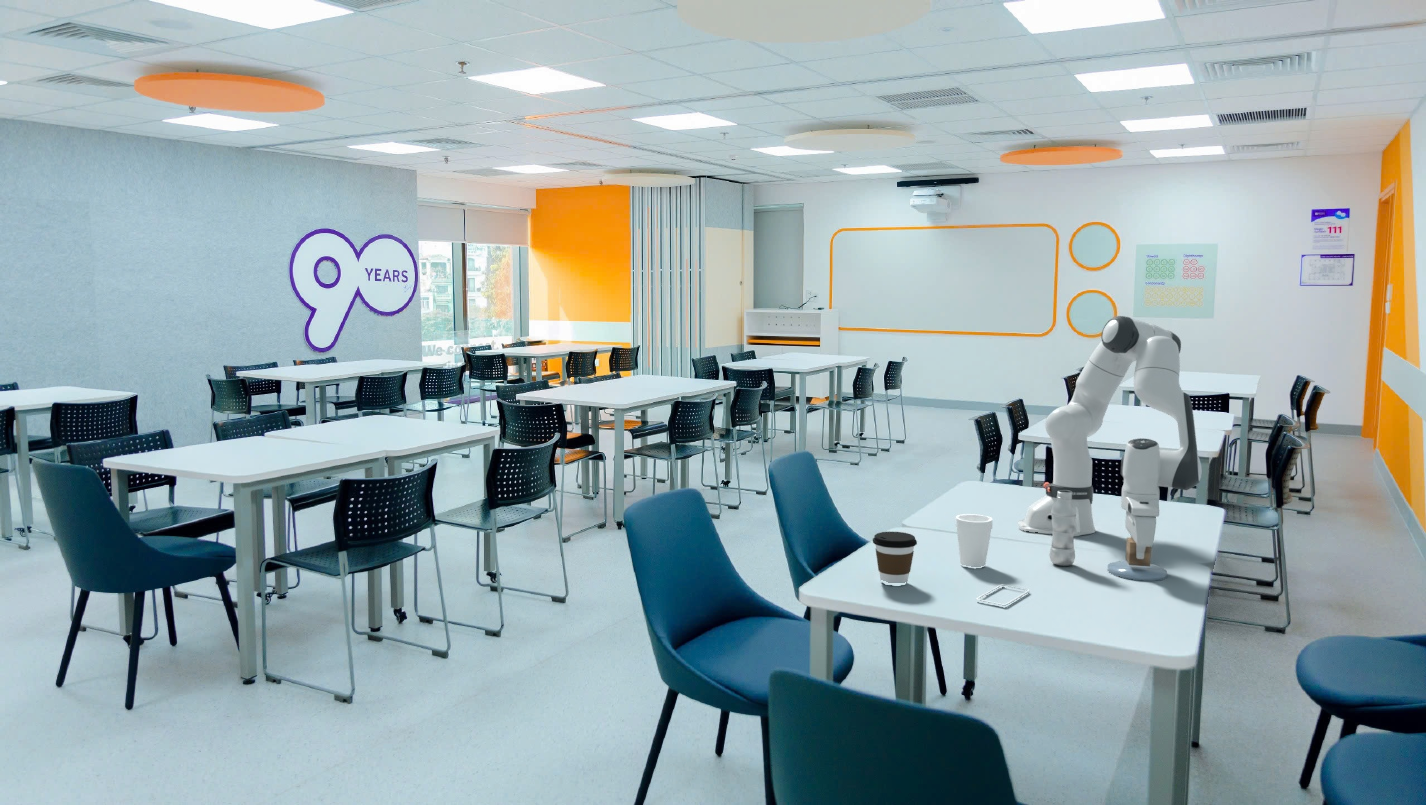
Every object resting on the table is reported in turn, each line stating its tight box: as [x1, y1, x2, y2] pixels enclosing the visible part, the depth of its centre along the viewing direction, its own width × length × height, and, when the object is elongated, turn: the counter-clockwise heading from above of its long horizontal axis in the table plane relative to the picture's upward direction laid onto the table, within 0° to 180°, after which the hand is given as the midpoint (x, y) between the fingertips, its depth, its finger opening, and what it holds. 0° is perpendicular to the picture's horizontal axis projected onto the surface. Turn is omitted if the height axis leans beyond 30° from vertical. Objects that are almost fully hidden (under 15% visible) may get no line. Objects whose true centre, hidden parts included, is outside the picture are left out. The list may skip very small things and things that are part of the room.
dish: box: [1107, 560, 1168, 582], centre depth 240 cm, size 14×14×1 cm
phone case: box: [975, 584, 1030, 606], centre depth 221 cm, size 7×1×15 cm
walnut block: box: [1125, 537, 1152, 566], centre depth 240 cm, size 5×5×6 cm
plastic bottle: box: [1048, 490, 1077, 567], centre depth 247 cm, size 6×7×20 cm
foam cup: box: [955, 513, 993, 567], centre depth 247 cm, size 10×9×13 cm
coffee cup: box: [872, 531, 918, 583], centre depth 232 cm, size 11×11×12 cm
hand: (1137, 554), depth 240 cm, fingers closed on walnut block, 5 cm apart
